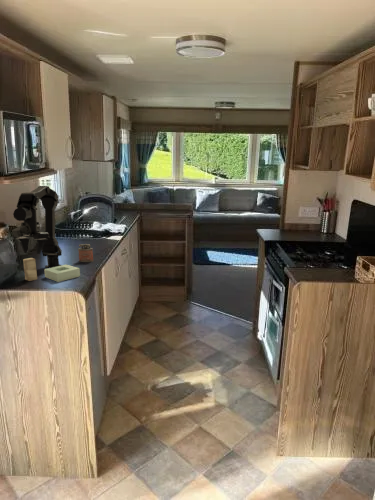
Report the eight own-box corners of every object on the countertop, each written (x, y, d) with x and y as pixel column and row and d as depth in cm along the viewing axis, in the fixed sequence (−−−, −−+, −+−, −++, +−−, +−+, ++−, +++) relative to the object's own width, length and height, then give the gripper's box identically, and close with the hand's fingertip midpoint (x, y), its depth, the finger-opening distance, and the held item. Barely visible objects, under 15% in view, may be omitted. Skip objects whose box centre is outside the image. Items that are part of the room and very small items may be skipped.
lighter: (94, 260, 219) (92, 243, 216) (92, 261, 215) (91, 244, 213) (79, 260, 218) (78, 243, 216) (78, 262, 215) (77, 244, 213)
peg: (25, 279, 184) (23, 259, 182) (33, 277, 187) (31, 257, 185) (29, 281, 181) (27, 260, 179) (37, 279, 184) (35, 259, 182)
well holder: (45, 277, 187) (44, 269, 186) (66, 271, 196) (66, 264, 195) (57, 281, 179) (57, 273, 179) (80, 276, 188) (79, 268, 187)
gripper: (1, 220, 176) (3, 254, 177) (28, 220, 166) (30, 256, 168) (22, 219, 185) (24, 251, 187) (49, 220, 176) (50, 253, 177)
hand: (31, 253), depth 180 cm, fingers open, 9 cm apart
